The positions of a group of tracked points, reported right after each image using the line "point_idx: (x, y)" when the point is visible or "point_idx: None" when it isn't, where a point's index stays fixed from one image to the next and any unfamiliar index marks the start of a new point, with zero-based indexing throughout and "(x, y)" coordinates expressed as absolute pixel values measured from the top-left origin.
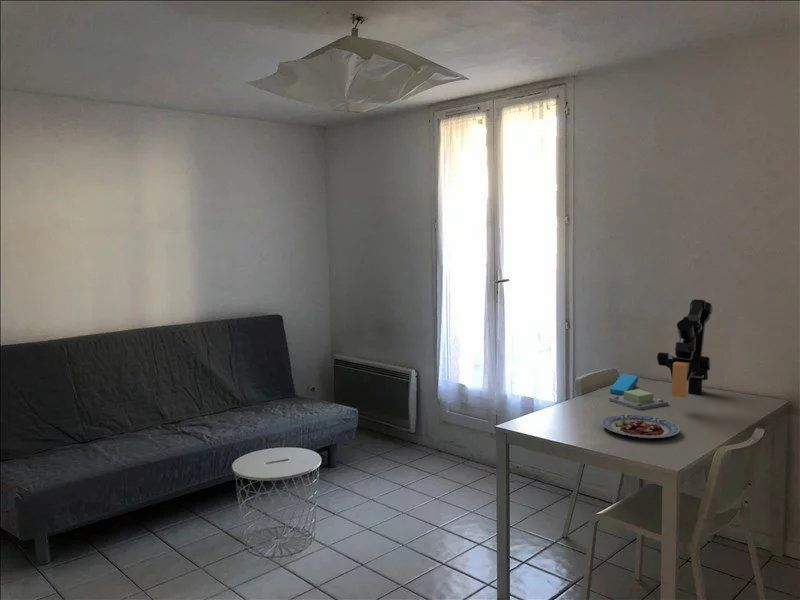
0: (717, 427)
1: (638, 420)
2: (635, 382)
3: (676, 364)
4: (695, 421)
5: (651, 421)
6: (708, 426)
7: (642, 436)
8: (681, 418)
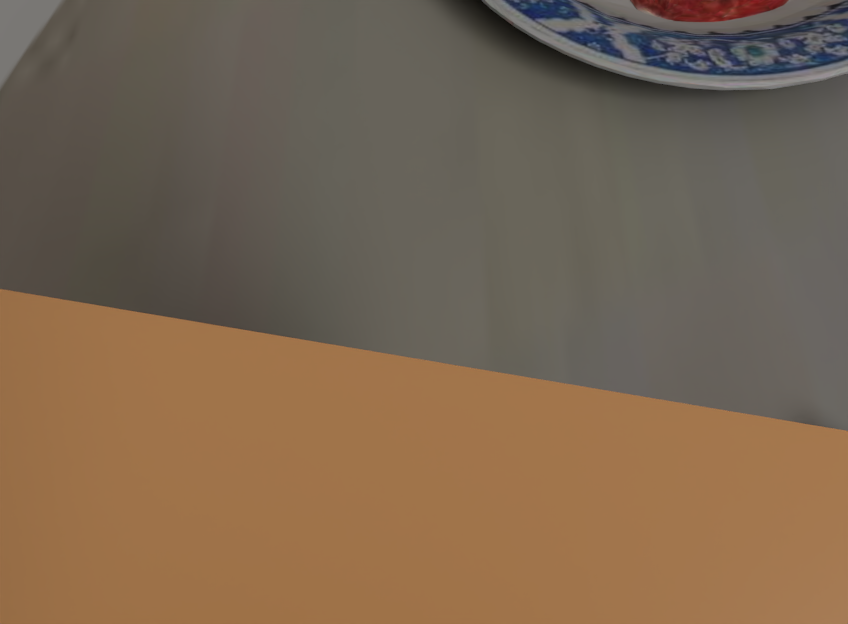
0: (118, 144)
1: (741, 30)
2: None
3: (619, 404)
4: (276, 248)
5: (635, 24)
6: (186, 145)
7: None
8: (396, 297)
